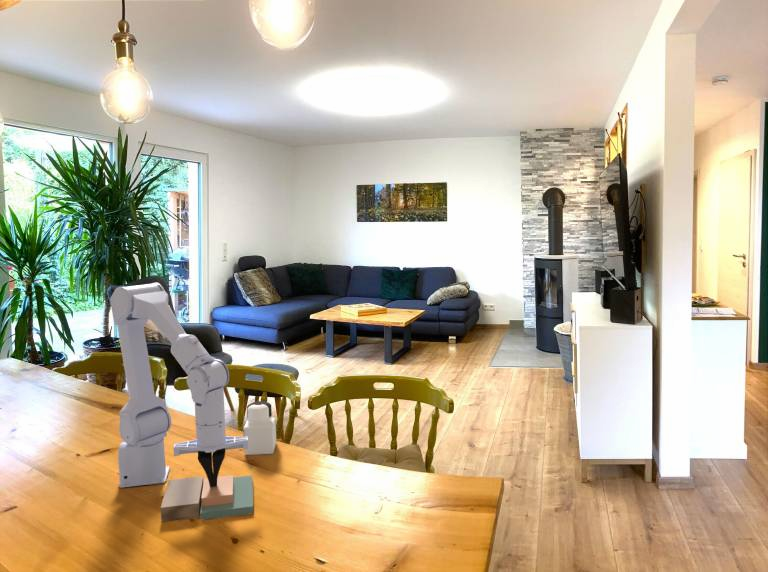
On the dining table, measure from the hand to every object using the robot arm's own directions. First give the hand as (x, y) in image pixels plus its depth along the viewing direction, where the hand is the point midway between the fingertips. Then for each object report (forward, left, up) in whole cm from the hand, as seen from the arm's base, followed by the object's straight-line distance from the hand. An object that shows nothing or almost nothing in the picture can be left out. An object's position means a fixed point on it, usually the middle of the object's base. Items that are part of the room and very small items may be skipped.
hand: (213, 484), depth 118 cm
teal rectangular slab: (+3, 0, -4) cm, 5 cm away
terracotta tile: (+1, 0, -2) cm, 2 cm away
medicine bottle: (+10, +25, -4) cm, 27 cm away
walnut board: (-6, 0, -4) cm, 7 cm away
